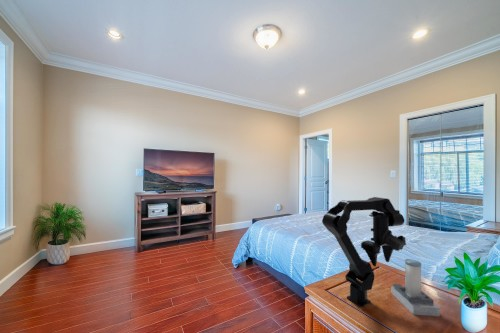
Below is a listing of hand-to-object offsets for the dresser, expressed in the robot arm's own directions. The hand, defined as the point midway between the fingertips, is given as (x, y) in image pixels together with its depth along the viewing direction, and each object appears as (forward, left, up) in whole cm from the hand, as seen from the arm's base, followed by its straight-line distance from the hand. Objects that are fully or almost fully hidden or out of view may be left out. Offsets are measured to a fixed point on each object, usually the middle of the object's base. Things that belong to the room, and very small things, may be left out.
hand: (381, 263), depth 90 cm
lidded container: (+5, -9, -10) cm, 15 cm away
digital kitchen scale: (+6, -9, -13) cm, 17 cm away
